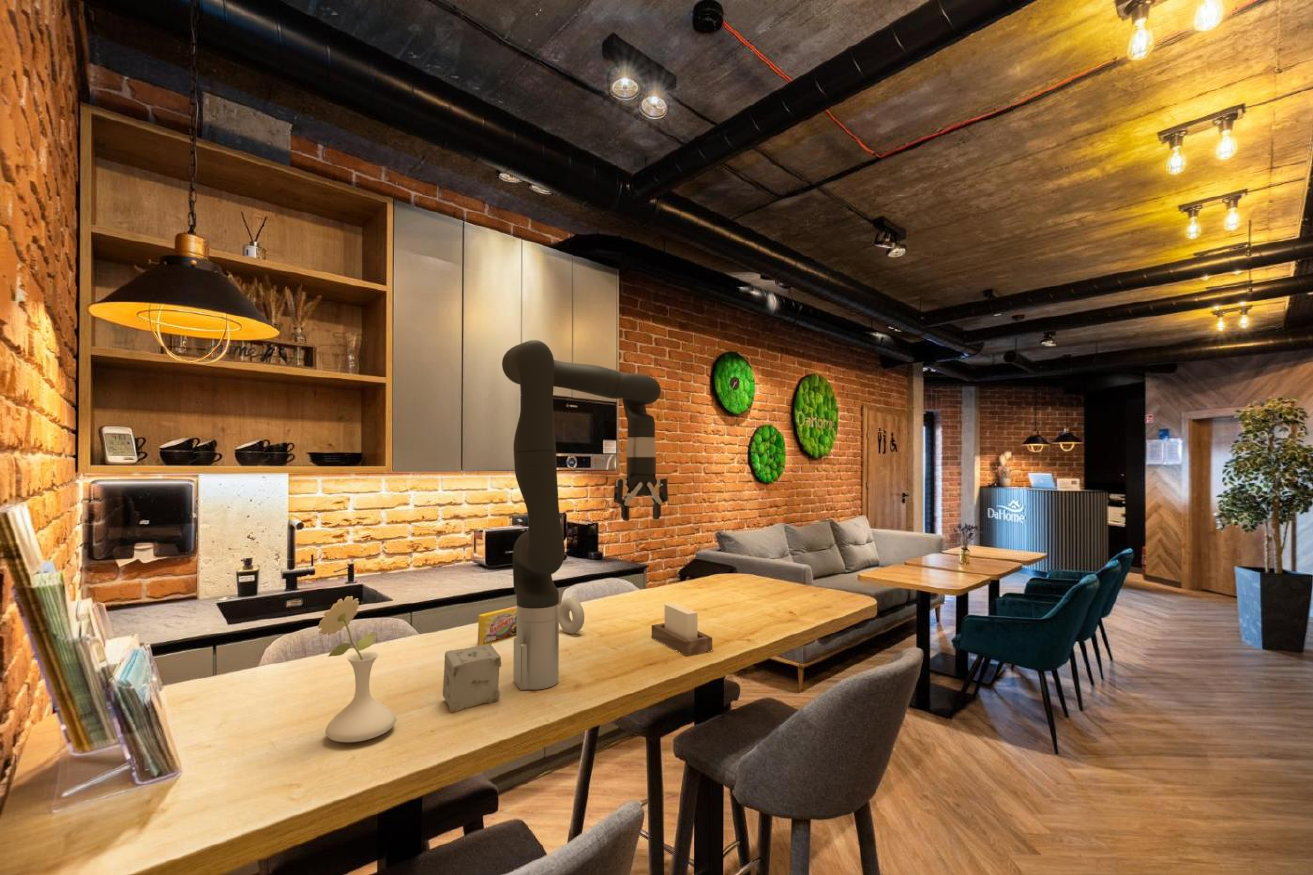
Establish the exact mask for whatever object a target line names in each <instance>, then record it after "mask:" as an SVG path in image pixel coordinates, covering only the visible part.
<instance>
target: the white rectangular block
mask: <svg viewBox="0 0 1313 875" xmlns="http://www.w3.org/2000/svg"><path fill="white" fill-rule="evenodd" d="M664 623H665V629H667V630H669V631H671V632H673V633H675V634H677V635H679V636H681V637H683V638H685V639H687V640H689V639H695V638H698V631H699V630H698V629H699V628H698V612H697V611H695V610H691V609H689V608H687V607H685V606H682V605H679V604H677V603H674V602H671V603H667V604H664Z"/></svg>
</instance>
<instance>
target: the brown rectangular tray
mask: <svg viewBox="0 0 1313 875" xmlns="http://www.w3.org/2000/svg"><path fill="white" fill-rule="evenodd" d="M653 638H654V639H653ZM651 639H653V640H655V639H656V640H655V641H657V640H658V641H659V642H658V641H657V642H658V643H660V642H661V643H660V644H662V643H663V644H662V645H664V644H665V645H664V646H666V645H667V646H666V647H667V648H670V649H671V648H672V650H673V649H675V650H677V651H678V652H677V651H676V652H677V653H679V652H680V653H679V654H681V653H682V654H681V655H683V654H684V655H685V656H684V655H683V656H684V657H689V656H688V655H691V656H694V655H693V654H696V655H699V654H698V653H701V654H703V653H702V652H706V651H711V650H712V651H713V637H712V636H710V635H707V634H705V633H704V632H700V631H699V630H698V638H695V639H689V640H687V639H685V638H683V637H681V636H679V635H677V634H675V633H673V632H671V631H669V630H667V629H665V622H663V623H657V624H656V623H655V624H651ZM675 650H674V651H675ZM706 653H707V652H706Z"/></svg>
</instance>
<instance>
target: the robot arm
mask: <svg viewBox="0 0 1313 875" xmlns="http://www.w3.org/2000/svg"><path fill="white" fill-rule="evenodd" d="M501 362H502V363H501V366H502V371H503V373H504V375H505V377H506V378H508V380H509V381H511V382H512V383H514V384H516V385H520V393H521V394H520V395H521V396H520V397H521V399H520V400H521V401H520V402H521V403H520V404H521V406H520V407H521V408H520V413H519V418H518V421H517V425H516V430H515V432H514V439H513V462H514V463H513V464H514V465H513V466H514V475H515V478H516V482H517V485H518V487H519V490H520V493H521V496H522V500H523V501H524V504H525V507H526V512H527V520H528V522H527V523H528V525H527V526H528V530H527V531H525V532H524V531H523V533H522V534H520V535H519V537H517V540H516V541H515V542H514V545H513V549H512V578H513V581H512V582H513V589H514V590H513V591H514V593H515V597H516V606H517V637H513V665H512V666H513V668H512V669H513V672H512V675H513V683H514V684H515V685H516V687H517V688H518V689H519V690H520V691H524V690H535V691H536V690H537V691H538V690H543V689H544V690H545V689H547V688H551V687H554V686H556V685H557V684H559V677H560V676H559V675H560V674H559V673H560V669H559V666H560V665H559V662H560V661H559V660H560V655H559V653H560V650H559V649H560V647H559V646H560V632H559V631H560V624H559V606H560V593H559V590H558V588H557V587H556V585H555V583H554V580H553V575H554V574H555V573H557V571H559V569H560V568H561V566H562V565H563V563H564V560H565V555H566V547H565V540H564V533H563V529H562V522H561V517H560V516H561V515H560V506H559V487H558V486H559V485H558V473H557V472H558V469H557V468H558V464H557V463H558V461H557V460H558V459H557V445H556V435H555V415H554V387H555V388H562V389H567V390H572V391H576V392H577V391H578V392H581V393H584V394H589V395H594V396H598V397H602V398H607V399H611V400H613V399H617V400H618V399H622V406H623V409H624V413H625V417H626V421H627V427H626V428H627V435H626V436H627V437H626V438H627V439H626V440H627V441H626V447H625V448H626V452H625V455H626V463H625V464H626V466H625V467H626V468H625V470H626V471H625V472H626V478H625V479H622V478H616V479H614V487H613V503H615V504H618V505H620V517H621V518H620V519H622V520H623V521H624V522H629V521H630V503H631V501H632V500H633V499H634V498H635V497H641V496H645V497H646V496H648V497H649V498H650V500H651V501H652V503H653V504H652V519H653V520H660V518H661V515H662V504H663V503H666V502H668V501H669V493H668V479H667V478H664V477H662V478H657V477H656V474H657V445H656V420H655V418H654V416H653V415H651V414H648V413H647V408H646V405H651V404H653V403H655V402H656V401H658V399H660V396H661V394H662V389H661V385H660V384H659V381H657V379H655V378H654V377H653V376H650V375H647V374H641V373H633V372H632V373H631V372H622V371H619V370H616V369H612V368H608V367H604V366H600V365H594V364H586V363H585V364H584V363H574V362H567V361H561V360H556V359H554V355H553V351H552V350H551V349H550V347H549V346H548V345H547V344H546V343H544V342H543V341H541V340H537V339H531V340H527V341H525V342H523V343H520V344H517V345H514V346H513V347H511V348H509V349H508V350H507V351H506V353H505V354H504V355H503V357H502V361H501ZM625 486H626V487H627V490H626V491H625V493H624V492H623V491H624V488H625ZM656 486H657V487H658V491H656V488H655V487H656ZM623 493H624V495H623Z"/></svg>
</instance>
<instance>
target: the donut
mask: <svg viewBox="0 0 1313 875" xmlns="http://www.w3.org/2000/svg"><path fill="white" fill-rule="evenodd" d="M570 612H571V614H572V615H571V614H570ZM570 615H571V616H572V619H571V617H570ZM584 624H585V611H584V608H583V606H582V604H581V603H580V602H579V601H578V600H577V599H575V598H574V597H567V598H565V599H563V600H562V601H561V603H559V627H560V628H561V629H562V630H563V631H564V632H565V633H567V634H569V635H575V634H577V633H579V632H580V631H581V629H583V626H584Z"/></svg>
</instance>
